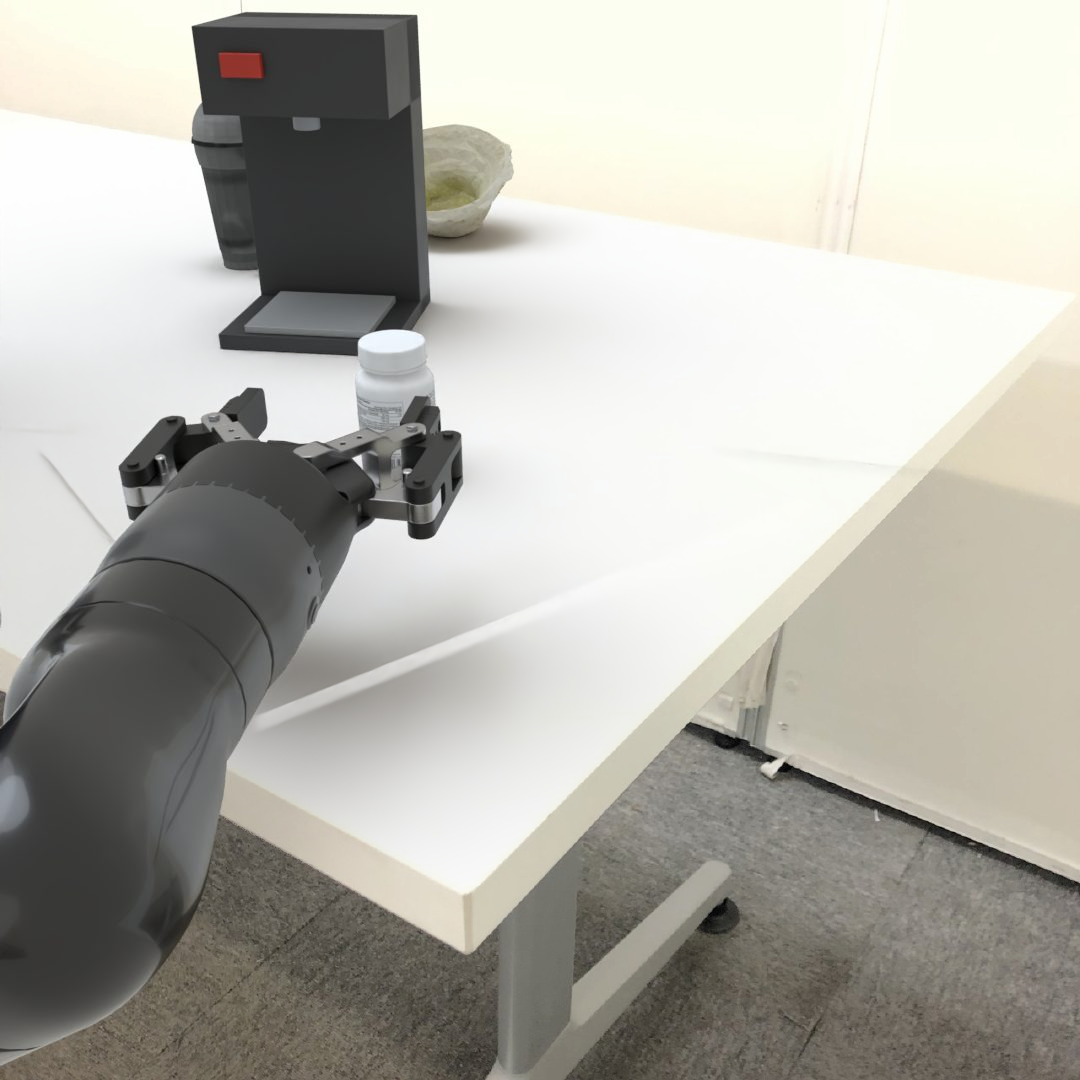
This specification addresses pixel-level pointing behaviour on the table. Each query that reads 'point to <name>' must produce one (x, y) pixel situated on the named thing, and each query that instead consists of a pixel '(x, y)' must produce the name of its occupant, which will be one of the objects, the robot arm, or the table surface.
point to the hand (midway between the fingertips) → (340, 409)
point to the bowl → (462, 177)
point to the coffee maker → (325, 172)
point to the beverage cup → (226, 186)
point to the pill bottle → (391, 379)
